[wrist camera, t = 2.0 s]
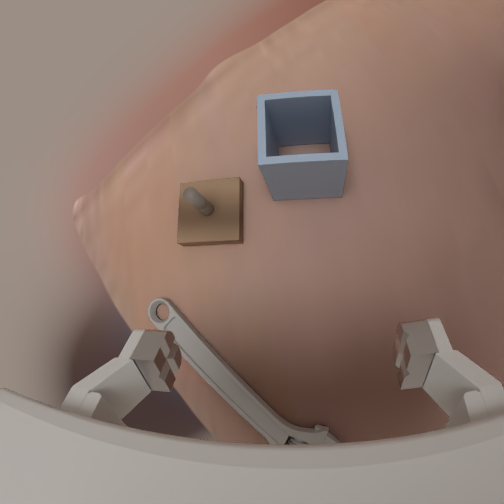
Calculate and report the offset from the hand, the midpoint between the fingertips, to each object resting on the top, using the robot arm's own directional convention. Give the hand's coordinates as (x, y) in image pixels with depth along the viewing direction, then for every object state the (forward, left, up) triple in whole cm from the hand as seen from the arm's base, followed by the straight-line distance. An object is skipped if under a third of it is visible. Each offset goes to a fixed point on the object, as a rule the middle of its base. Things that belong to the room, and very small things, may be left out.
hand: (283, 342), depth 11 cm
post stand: (+2, -13, -17) cm, 22 cm away
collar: (-8, -12, -17) cm, 22 cm away
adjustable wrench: (+8, +4, -18) cm, 20 cm away
